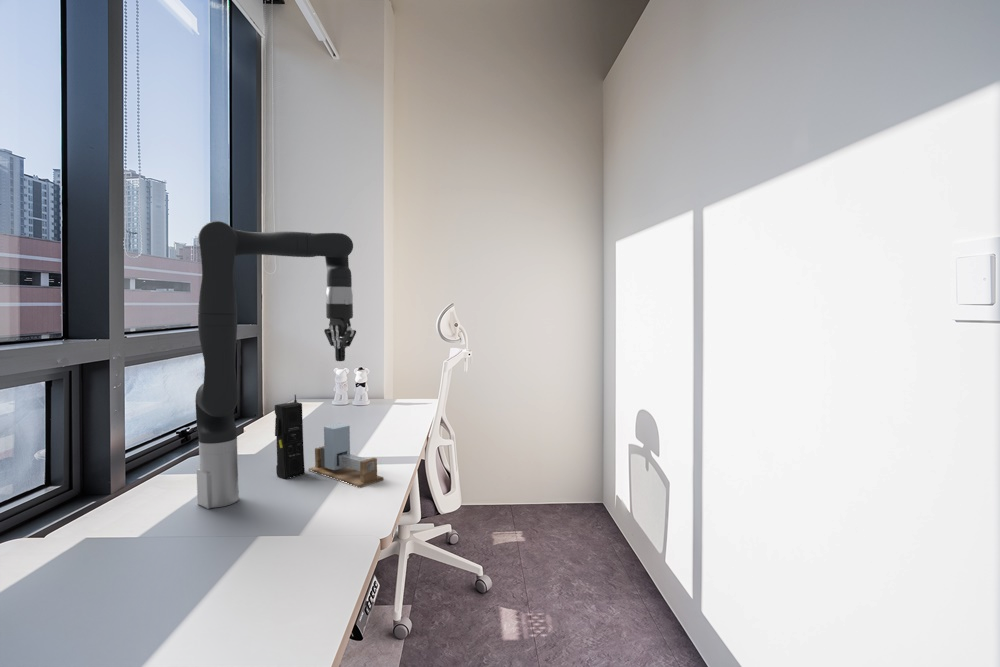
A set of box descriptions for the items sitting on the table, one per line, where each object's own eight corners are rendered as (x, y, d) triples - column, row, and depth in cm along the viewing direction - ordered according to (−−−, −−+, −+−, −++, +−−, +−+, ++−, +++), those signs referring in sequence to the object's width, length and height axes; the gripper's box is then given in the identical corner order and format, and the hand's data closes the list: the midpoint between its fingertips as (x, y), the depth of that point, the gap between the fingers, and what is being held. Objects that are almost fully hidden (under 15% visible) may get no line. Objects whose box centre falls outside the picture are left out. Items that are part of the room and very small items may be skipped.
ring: (340, 462, 177) (340, 444, 176) (324, 467, 172) (324, 448, 172) (337, 461, 178) (336, 443, 178) (321, 466, 173) (320, 447, 173)
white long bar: (374, 471, 164) (374, 460, 164) (365, 473, 161) (365, 462, 161) (326, 456, 179) (326, 446, 179) (317, 459, 177) (317, 448, 176)
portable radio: (283, 480, 165) (281, 399, 164) (272, 476, 169) (270, 397, 167) (306, 474, 171) (304, 395, 170) (295, 470, 175) (293, 393, 174)
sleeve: (350, 465, 174) (349, 425, 173) (334, 470, 169) (333, 429, 168) (340, 462, 177) (340, 423, 176) (324, 467, 172) (323, 426, 171)
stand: (383, 479, 166) (383, 457, 166) (359, 487, 159) (358, 464, 158) (332, 464, 182) (332, 443, 182) (308, 470, 175) (308, 449, 175)
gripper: (315, 302, 161) (316, 360, 162) (342, 302, 153) (343, 363, 154) (337, 302, 167) (337, 358, 168) (363, 302, 159) (364, 361, 160)
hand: (340, 360), depth 161 cm, fingers closed
